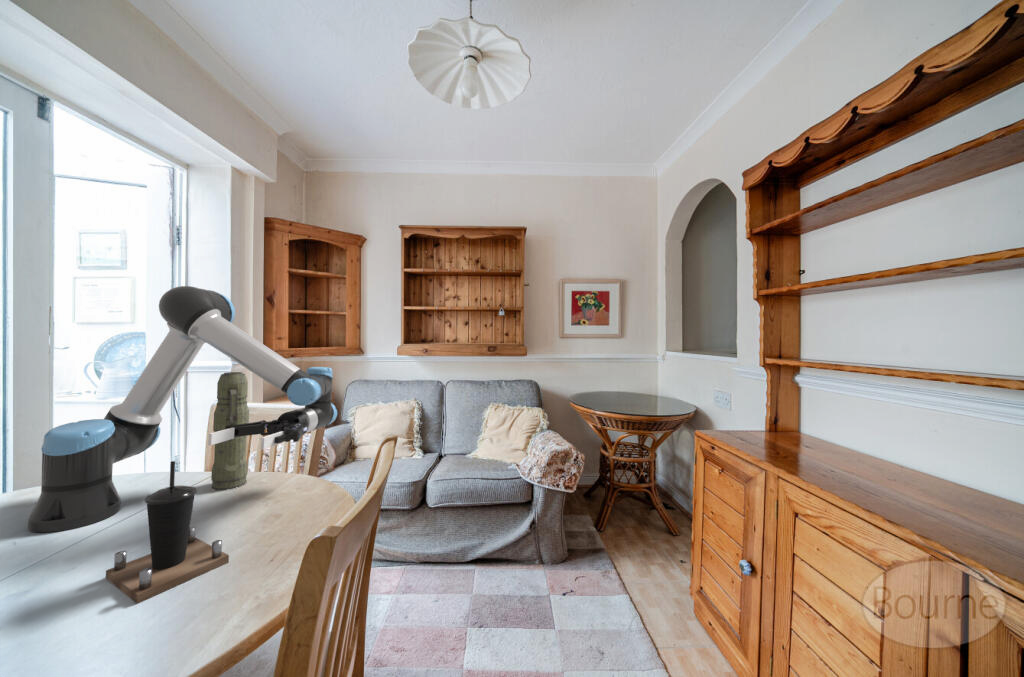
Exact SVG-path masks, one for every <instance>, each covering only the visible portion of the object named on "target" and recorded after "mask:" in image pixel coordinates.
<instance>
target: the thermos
mask: <svg viewBox="0 0 1024 677" xmlns="http://www.w3.org/2000/svg"><path fill="white" fill-rule="evenodd" d="M248 384H249V382H248V378H247V376H246V374H245V373H243V372H239V371H233V372H229V371H228V372H223V373H222V374H220V376H219V378H218V381H217V385H216V386H217V389H216V390H217V391H216V399H217V403H216V408H215V410H214V412H213V428H212V429H213V431H214V432H217V431H221V430H225V426H231V425H238V424H245V423H250V409H249V407H248V401H247V398H248V388H249V387H248ZM213 455H214V458H213V459H214V460H213V461H214V462H213V464H212V467H211V478H210V480H211V482H212V483H211V489H212V490H213V489H214V491H227V489H230V490H234V489H233V488H235V489H237V488H236V487H238V488H240V487H239V486H241V487H242V485H243V486H245V485H246V484H247V475H248V466H249V465H248V462H247V436H239V437H234V439H232V440H227V441H224V442H220V443H217V444H214V454H213ZM245 483H246V484H245ZM244 484H245V485H244Z"/></svg>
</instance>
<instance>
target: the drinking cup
mask: <svg viewBox="0 0 1024 677" xmlns="http://www.w3.org/2000/svg"><path fill="white" fill-rule="evenodd" d="M169 469H170V470H169V486H167V487H164V488H160V489H158V490H156V491H155V492H151V493H150V494H148V495H147V496H146V497H145V498H144V503H145V504H146V510H147V520H148V532H149V533H148V534H149V543H150V544H149V545H150V554H151V558H152V568H153V569H156V570H162V569H167V568H171V567H174V566H176V565H178V564H180V563H181V562H183V561H184V560H185V556H186V549H187V543H188V536H189V529H190V527H191V522H192V514H193V510H194V509H193V508H194V502H195V495H196V494H197V492H198V489H197V487H194V486H188V485H180V484H179V485H175V478H176V477H175V475H176V460H173V461H172V460H171V461H170V468H169Z"/></svg>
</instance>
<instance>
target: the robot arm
mask: <svg viewBox="0 0 1024 677" xmlns="http://www.w3.org/2000/svg"><path fill="white" fill-rule="evenodd" d="M158 302H159V303H158V311H159V313H160V316H161V317H162V319H163V320H164V321H165V322H166V326H167V327H168V332H167V334H166V336H165V337H164V339H163V341H162V342H161V343H160V345H159V347H158V348H157V349H156V351H155V353H154V354H153V356H152V357H151V359H150V360H149V362H148V363H147V364H146V366H145V368H144V369H143V371H142V373H141V374H140V375H139V377H138V378H137V380H136V381H135V384H134V385H133V386H132V387H131V389H130V391H129V392H128V394H127V395H126V397H125V398H124V399H123V401H122V403H119V404H116V405H112V407H110V409H109V410H108V412H107V413H106V414H105V416H104V418H98V419H96V418H94V419H84V420H78V421H76V422H74V421H73V422H67V423H65V424H61V425H58V426H56V427H55V426H54V427H52V428H51V429H49V430H48V431H47V432H45V434H44V437H43V441H42V445H41V449H40V450H41V452H42V453H41V454H42V456H41V487H40V495H39V498H38V499H37V501H36V503H35V505H34V507H33V509H32V511H31V513H30V515H29V517H28V521H27V529H28V531H29V530H30V531H29V532H32V533H52V532H60V531H65V530H66V531H67V530H71V529H76V528H80V527H84V526H87V525H92V524H94V523H95V524H96V523H97V522H100V521H103V520H105V519H108V518H109V517H112V516H114V515H116V514H117V513H118V512H119V511H120V510H121V509H122V507H121V506H122V505H121V504H122V501H121V500H122V499H121V497H120V495H119V492H118V491H117V488H116V486H115V484H114V482H113V468H114V467H113V464H115V463H119V462H120V461H123V460H127V459H129V458H131V457H135V456H136V455H139V454H141V453H143V452H145V451H147V450H148V449H149V448H151V447H152V446H153V445H155V443H156V442H157V441H158V439H159V437H160V435H161V427H160V425H161V423H162V422H163V421H162V420H163V417H162V415H161V413H160V412H162V410H163V408H164V407H165V405H166V404H167V402H168V400H169V399H170V397H171V396H172V394H173V392H174V391H175V390H176V388H177V386H178V385H179V383H180V382H181V380H182V379H183V377H184V376H185V374H186V372H187V371H188V369H189V367H190V366H191V364H192V363H193V361H194V360H195V358H196V357H197V356H198V353H199V352H200V350H202V347H204V346H203V345H204V344H208V345H209V346H211V347H213V348H214V349H216V350H217V351H218V352H221V354H223V355H224V356H226V357H228V358H230V359H231V360H232V361H234V362H236V363H237V364H239V365H241V366H242V367H244V368H245V369H247V370H249V371H250V372H252V373H253V374H254V375H256V376H257V377H259V378H260V379H262V380H264V381H266V382H268V384H271V385H272V386H273V387H275V388H277V389H278V390H280V391H281V392H283V393H285V394H286V395H287V398H288V400H289V401H290V402H291V403H292V404H293V405H295V406H299V407H300V406H301V408H297V409H294V410H290V411H286V412H284V413H281V414H280V416H279V417H278V418H277V419H272V420H271V421H266V420H265V419H263V420H258V421H253V422H249V423H245V424H238V425H231V426H225V430H221V431H217V432H210V433H208V443H207V444H208V446H213V445H214V446H215V444H217V443H220V442H224V441H227V440H232V439H234V437H239V436H246V437H248V436H255V435H261V436H262V437H261V439H260V441H261V442H260V450H266V449H269V448H272V447H275V446H277V445H280V444H283V443H284V442H286V443H289V442H291V441H293V442H295V443H296V442H299V441H300V440H301V438H302V437H303V436H305V435H306V434H308V433H310V432H313V431H315V430H318V429H322V428H326V427H327V426H329V425H331V424H332V423H334V422H335V420H336V419H337V416H338V410H337V407H336V406H335V405H334V403H332V396H333V395H332V392H333V379H334V377H333V369H332V368H331V367H328V366H311V367H307V369H306V371H304V370H303V369H301V368H300V367H298V366H297V365H295V364H294V363H292V362H291V361H289V360H288V359H287V358H285V357H283V356H282V355H280V354H279V353H277V352H276V351H275V350H273V349H271V348H269V347H268V345H265V344H263V343H262V342H261V341H260V340H258V339H256V338H254V337H253V336H252V335H250V334H248V333H247V332H246V331H244V330H242V329H241V328H240V327H238V326H237V325H235V324H233V321H234V320H235V315H236V311H235V310H236V309H235V305H233V304H234V303H233V302H232V301H231V299H229V298H228V297H227V296H225V295H224V294H222V293H219V292H216V291H215V290H209V289H205V288H198V287H194V286H189V285H185V286H183V285H181V286H176V287H173V288H171V289H169V290H167V291H166V292H165V293H163V295H162V296H161V298H160V299H159V301H158ZM265 430H266V432H265Z"/></svg>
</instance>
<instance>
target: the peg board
mask: <svg viewBox="0 0 1024 677" xmlns="http://www.w3.org/2000/svg"><path fill="white" fill-rule="evenodd" d="M127 553H128V552H127V550H120V551H117V552H116V553H114V558H113V559H114V564H113V567H112V568H108V569H106V570H105V579H106V580H107V581H109V582H110V583H111V584H112V585H113V586H115V587H116V588H117V589H118V590H120V591H121V592H122V593H123V594H125V595H126V596H127V597H128V598H130V600H132V602H135V603H136V604H137V605H138V604H140V603H142V602H145V601H146V600H147V601H148V599H150V598H153V597H155V596H158V595H160V594H162V593H163V592H166V591H168V590H170V589H173V588H176V587H177V586H180V585H182V584H184V583H187V582H188V581H191V580H193V579H195V578H197V577H199V576H202V575H204V574H206V573H208V572H210V571H213V570H215V569H217V568H219V567H222V566H223V565H226V564H228V563H229V559H230V555H229V554H228V553H226V552H224V551H223V539H216V540H214V541H212V542H211V545H210V544H208V543H207V542H205V541H203V540H201V539H199V538H198V537H196V526H194V525H193V526H190V529H189V536H188V543H187V549H186V556H185V560H184V561H183V562H181V563H180V564H178V565H176V566H174V567H171V568H167V569H162V570H156V569H153V568H152V558H151V553H148V554H147V555H146V554H145V555H143V556H141V557H139V558H135V559H133V560H130V561H127Z"/></svg>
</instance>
